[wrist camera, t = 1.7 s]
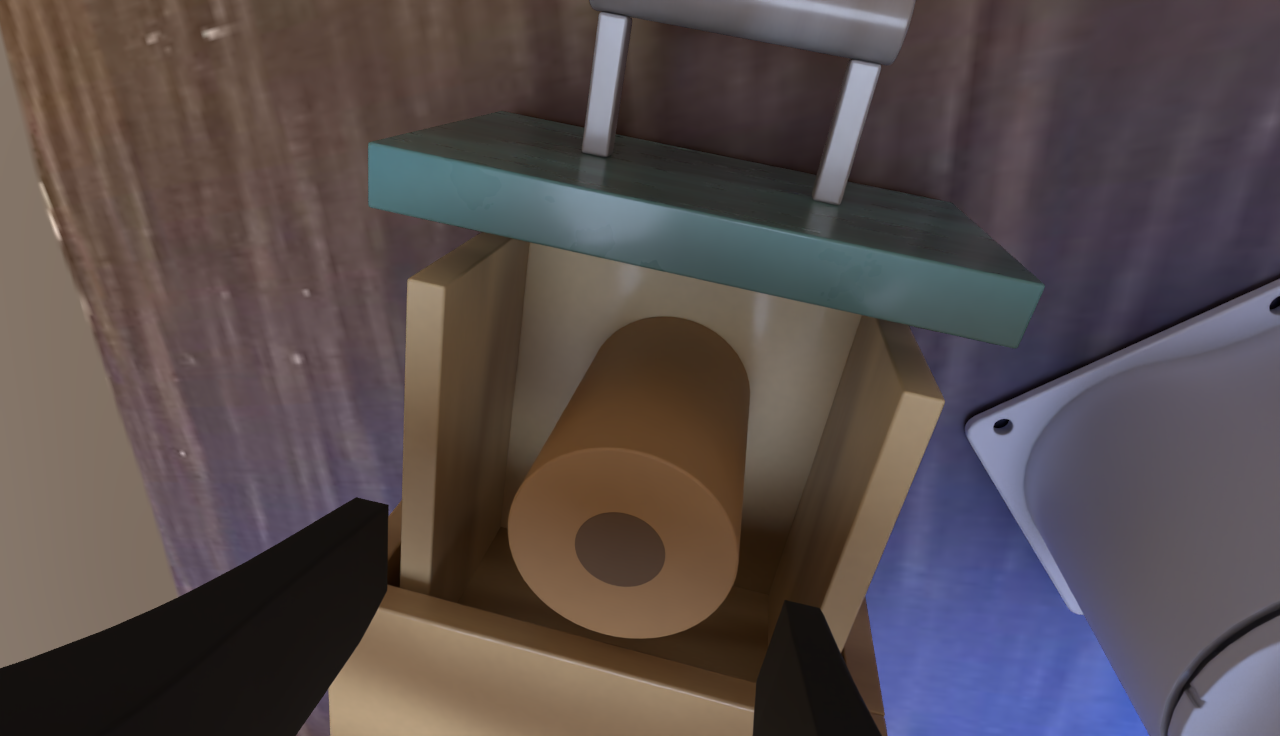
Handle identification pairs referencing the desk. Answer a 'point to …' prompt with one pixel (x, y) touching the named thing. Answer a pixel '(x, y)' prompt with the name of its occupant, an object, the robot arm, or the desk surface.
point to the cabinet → (536, 677)
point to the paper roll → (640, 485)
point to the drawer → (693, 290)
